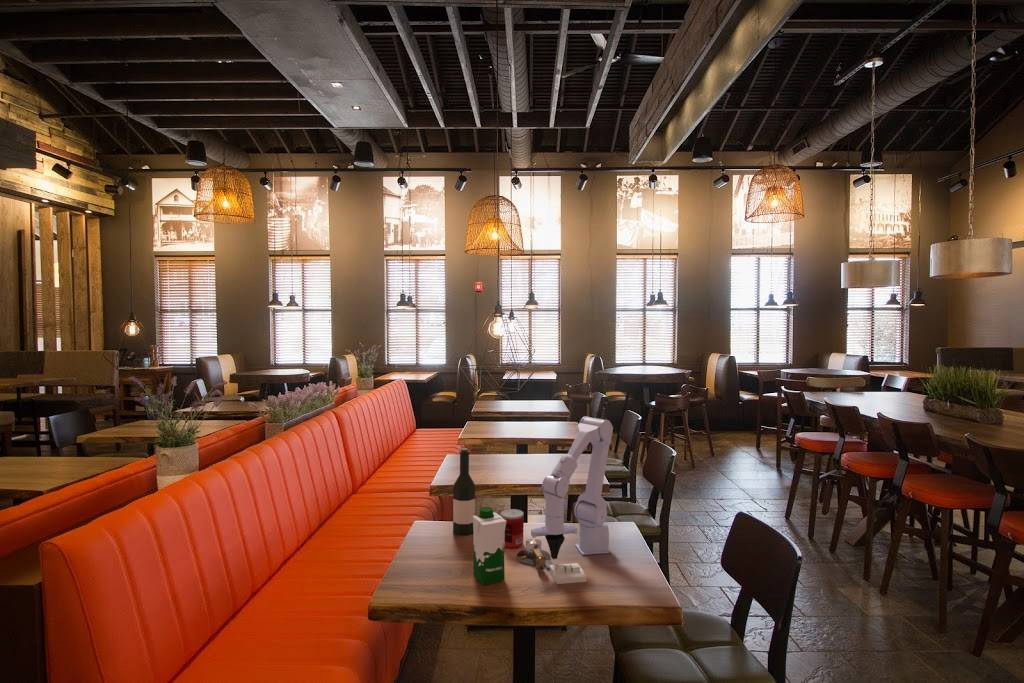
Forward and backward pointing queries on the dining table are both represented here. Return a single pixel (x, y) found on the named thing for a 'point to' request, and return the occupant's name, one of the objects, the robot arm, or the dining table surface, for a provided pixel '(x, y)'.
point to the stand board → (567, 573)
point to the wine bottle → (463, 498)
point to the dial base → (528, 561)
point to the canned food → (513, 528)
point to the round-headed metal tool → (535, 552)
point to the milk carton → (488, 546)
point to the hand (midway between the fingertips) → (554, 557)
